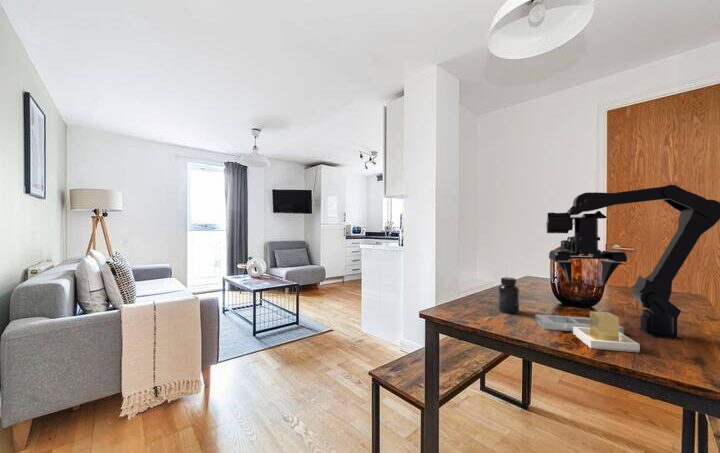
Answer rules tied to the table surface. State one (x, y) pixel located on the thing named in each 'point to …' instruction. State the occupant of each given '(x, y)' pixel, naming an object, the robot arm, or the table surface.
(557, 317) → the grey flat plate
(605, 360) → the table surface
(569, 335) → the table surface
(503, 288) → the supplement bottle
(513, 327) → the table surface
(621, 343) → the tray
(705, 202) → the robot arm
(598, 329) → the wood grain block
